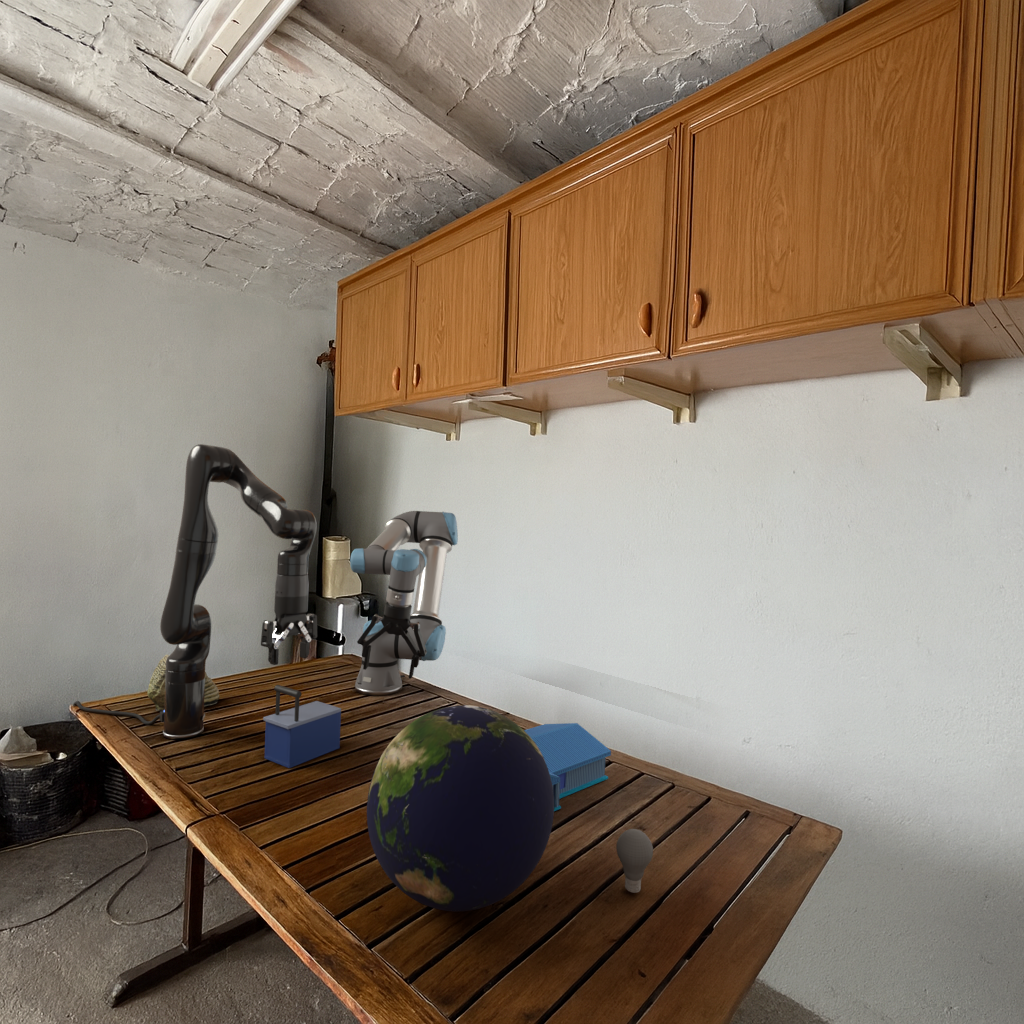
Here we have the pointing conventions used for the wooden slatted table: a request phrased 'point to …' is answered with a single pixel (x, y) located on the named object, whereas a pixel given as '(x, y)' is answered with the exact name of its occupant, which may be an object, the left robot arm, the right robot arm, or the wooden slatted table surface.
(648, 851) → the light bulb
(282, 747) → the chest
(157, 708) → the fossil
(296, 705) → the grey lid
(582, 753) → the model building
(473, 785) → the globe
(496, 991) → the wooden slatted table surface
